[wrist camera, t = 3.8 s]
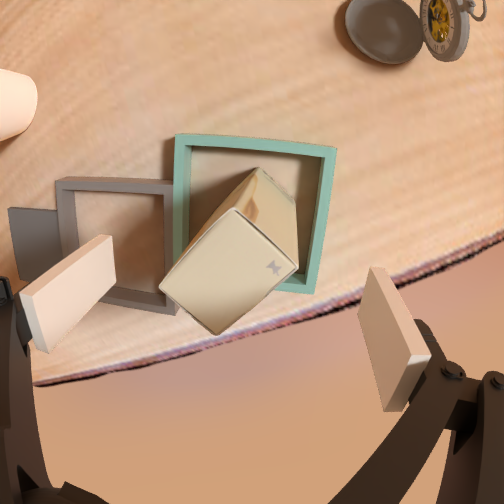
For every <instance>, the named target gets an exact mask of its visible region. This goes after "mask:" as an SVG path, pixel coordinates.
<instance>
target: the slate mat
mask: <svg viewBox="0 0 504 504" xmlns="http://www.w3.org/2000/svg"><path fill="white" fill-rule="evenodd" d="M8 216H9V223H10V230H11V236H12V242H13V248H14V253H15V258H16V263H17V268H18V272H19V277H20V280H24V281H28V282H31V281H33V280H34V279H35V278H37V277H38V276H39V275H41V274H43V273H45V272H47V271H48V270H49V269H51V268H52V267H54V266H55V265H56V264H58V263H59V262H60V261H62V260H63V252H62V245H61V238H60V230H59V221H58V211H57V210H48V209H33V208H18V207H10V208H8Z"/></svg>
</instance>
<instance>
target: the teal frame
mask: <svg viewBox="0 0 504 504" xmlns="http://www.w3.org/2000/svg"><path fill="white" fill-rule="evenodd" d="M192 145H197V146H216V147H231V148H244V149H255V150H266V151H276V152H285V153H294V154H302V155H310V156H317V157H322V159H321V167H320V175H319V183H318V190H317V197H316V205H315V212H314V219H313V225H312V232H311V239H310V245H309V251H308V258H307V264H306V270H305V274H296V273H293V274H292V275H290V276H289V277H288V278H287V279H286V280H285V281H284V282H282V283H281V284H280V285H279V286H278V287H277V288H276V289H274V290H277V291H286V292H295V293H304V294H314V291H315V286H316V280H317V275H318V270H319V264H320V259H321V253H322V247H323V241H324V236H325V229H326V223H327V217H328V211H329V204H330V197H331V190H332V183H333V176H334V169H335V161H336V153H337V148H335V147H331V146H325V145H317V144H310V143H302V142H294V141H285V140H276V139H266V138H255V137H242V136H228V135H211V134H186V133H182V134H175V152H174V181H173V265H174V264H175V263H176V261H177V260H178V258H179V257H180V256H181V254H182V253H183V252H184V250H185V249H186V248H187V246H188V245H189V204H190V175H191V154H192Z"/></svg>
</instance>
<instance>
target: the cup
mask: <svg viewBox="0 0 504 504" xmlns="http://www.w3.org/2000/svg"><path fill="white" fill-rule="evenodd" d="M36 107H37V89H36V86H35V83H34V82H33V80H32V79H31V78H30V77H29V76H27V75H23V74H19V73H16V72H12V71H8V70H4V69H0V141H3V140H5V139H8V138H10V137H13V136H15V135H18V134H20V133H22V132H24V131H25V130H26V129H27V128H28V126H29V125H30V123H31V122H32V120H33V117H34V115H35V111H36Z"/></svg>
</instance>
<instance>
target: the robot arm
mask: <svg viewBox="0 0 504 504" xmlns="http://www.w3.org/2000/svg"><path fill="white" fill-rule="evenodd" d="M115 283H116V275H115V265H114V255H113V243H112V235H103V234H99V235H98V236H96V237H95V238H94V239H92V240H91V241H89V242H88V243H86V244H85V245H83V246H82V247H80V248H79V249H77V250H76V251H75V252H73V253H72V254H70V255H69V256H67V257H66V258H65V259H63V260H62V261H60V262H59V263H58V264H56V265H55V266H54V267H52V268H51V269H49V270H48V271H47V272H45V273H43V274H41V275H39V276H38V277H37V278H35V279H34V280H33V281H31V282H30V283H29V284H27V285H26V286H25V287H23V288H22V289H21V290H20V291H18V292H17V293H16V294H14V295H13V294H12V290H11V286H10V282H9V279H8V278H7V277H3V276H0V504H109V503H107V502H106V501H104V500H103V499H101V498H100V497H98V496H97V495H95V494H92V493H90V492H88V491H85V490H83V489H81V488H78V487H76V486H74V485H72V484H70V483H68V482H66V481H65V482H64V484H63V486H62V488H54V487H53V486H52V485H51V483H50V481H49V478H48V475H47V472H46V467H45V463H44V458H43V454H42V449H41V444H40V438H39V433H38V426H37V420H36V413H35V405H34V396H33V386H32V374H31V358H30V348H29V345H28V342H29V341H30V340H31V339H32V338H33V341H34V344H35V346H36V349H38V350H40V351H43V352H46V353H48V354H49V353H50V352H51V351H52V350H53V349H54V348H55V347H56V346H57V344H58V343H59V342H60V341H61V340H62V339H63V338H64V337H65V336H66V334H67V333H68V332H69V331H70V330H71V329H72V328H73V327H74V326H75V325H76V324H77V323H78V321H79V320H80V319H81V318H82V317H83V316H84V315H85V314H86V313H87V312H88V311H89V310H90V309H91V308H92V307H93V306H94V304H95V303H96V302H97V301H98V300H99V299H100V298H101V297H102V296H103V295H104V294H105V293H106V292H107V291H108V290H109V289H110V288H111V287H112V286H113V285H114V284H115ZM358 318H359V321H360V325H361V328H362V332H363V335H364V338H365V342H366V345H367V349H368V353H369V356H370V360H371V363H372V367H373V371H374V375H375V379H376V383H377V387H378V390H379V395H380V399H381V403H382V407H383V411H384V412H398V411H399V412H400V411H402V410H403V409H404V407H405V405H406V404H407V402H408V401H409V404H410V405H409V407H408V408H407V410H406V411H405V412H404V414H403V415H402V417H401V418H400V419H399V421H398V422H397V424H396V425H395V426H394V428H393V429H392V430H391V432H390V433H389V434H388V436H387V437H386V438H385V439H384V441H383V442H382V443H381V445H380V446H379V447H378V448H377V450H376V451H375V452H374V453H373V454H372V456H371V457H370V458H369V459H368V461H367V462H366V463H365V464H364V465H363V466H362V468H361V469H360V470H359V471H358V472H357V473H356V474H355V475H354V477H353V478H352V479H351V480H350V481H349V482H348V483H347V484H346V485H345V486H344V487H343V488H342V490H341V491H340V492H339V493H338V494H337V495H336V496H335V497H334V498H333V499H332V500H331V501H330V502H329V503H328V504H399V502H400V501H401V499H402V498H403V497H404V495H405V494H406V492H407V490H408V489H409V488H410V486H411V485H412V483H413V482H414V480H415V479H416V477H417V475H418V474H419V472H420V470H421V469H422V467H423V465H424V464H425V462H426V460H427V459H428V457H429V455H430V453H431V452H432V450H433V448H434V446H435V444H436V443H437V441H438V439H439V437H440V435H441V433H442V431H443V429H449V430H452V431H451V437H450V443H449V449H448V454H447V459H446V464H445V469H444V473H443V478H442V482H441V486H440V490H439V494H438V498H437V501H436V504H504V375H503V374H502V373H499V372H497V371H489V372H487V373H486V374H485V375H484V377H483V379H482V380H476V379H472V378H467V377H466V373H465V371H464V370H463V369H462V367H461V366H459V365H458V364H456V363H454V362H451V361H447V359H446V357H445V355H444V353H443V352H442V350H441V348H440V346H439V344H438V343H437V342H436V339H435V337H434V336H433V333H432V332H431V330H430V328H429V327H428V326H427V325H426V324H425V323H424V322H423V321H422V320H419V319H413V318H412V316H411V314H410V313H409V311H408V309H407V307H406V305H405V303H404V302H403V300H402V298H401V296H400V295H399V293H398V291H397V289H396V287H395V285H394V284H393V282H392V280H391V279H390V277H389V275H388V273H387V272H386V270H385V268H379V267H370V269H369V273H368V277H367V281H366V285H365V289H364V292H363V296H362V300H361V303H360V307H359V311H358Z"/></svg>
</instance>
